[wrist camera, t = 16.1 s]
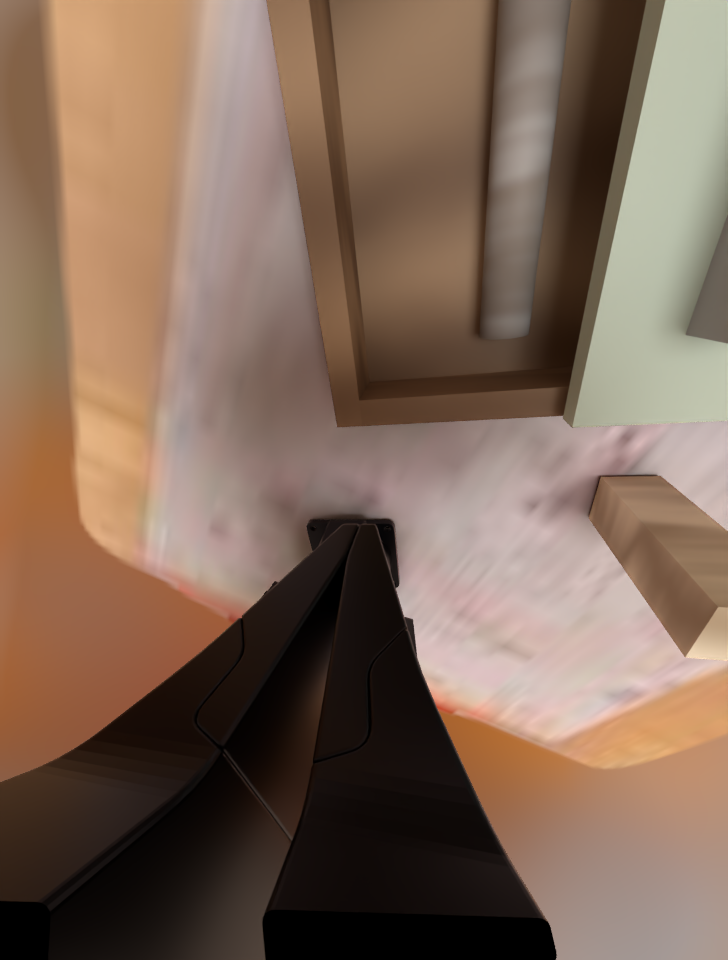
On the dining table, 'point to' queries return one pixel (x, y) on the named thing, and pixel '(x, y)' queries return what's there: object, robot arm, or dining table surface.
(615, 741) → the dining table surface
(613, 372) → the lid
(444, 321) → the wooden box tray
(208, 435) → the dining table surface
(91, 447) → the dining table surface
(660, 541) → the brown wooden block
